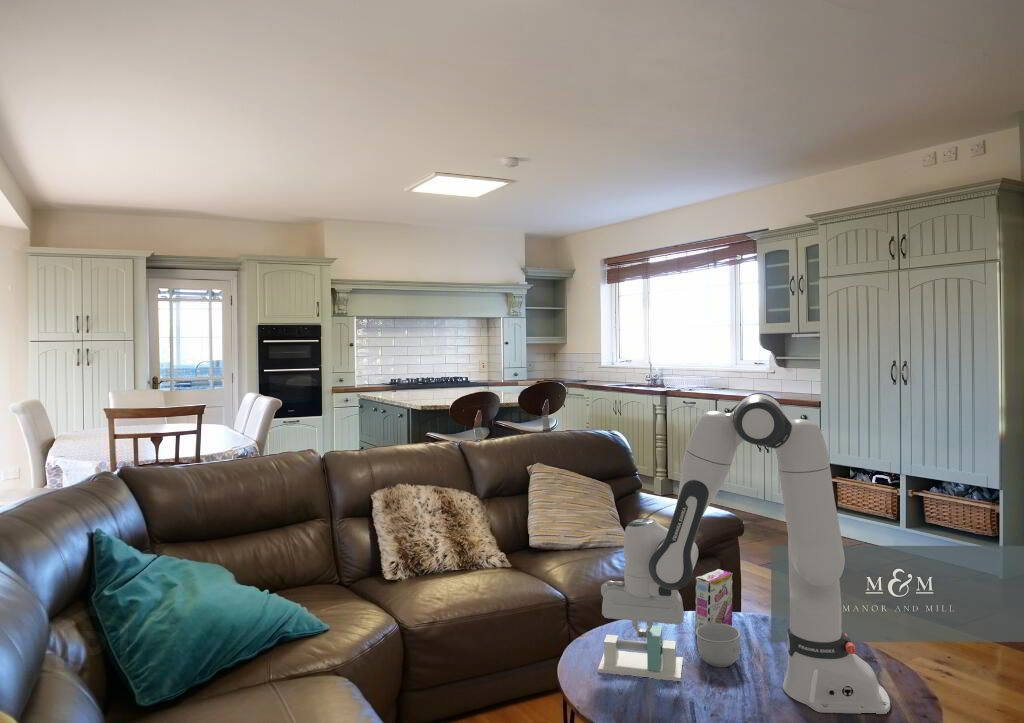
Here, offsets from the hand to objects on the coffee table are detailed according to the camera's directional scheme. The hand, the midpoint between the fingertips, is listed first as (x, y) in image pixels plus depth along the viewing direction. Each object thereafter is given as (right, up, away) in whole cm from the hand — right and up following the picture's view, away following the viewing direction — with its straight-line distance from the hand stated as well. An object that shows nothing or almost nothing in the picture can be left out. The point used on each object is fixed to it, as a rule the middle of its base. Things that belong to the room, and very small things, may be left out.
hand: (642, 637), depth 182 cm
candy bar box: (+23, -6, +20) cm, 31 cm away
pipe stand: (0, -8, +1) cm, 8 cm away
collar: (+3, -6, -1) cm, 7 cm away
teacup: (+20, -7, +4) cm, 22 cm away
